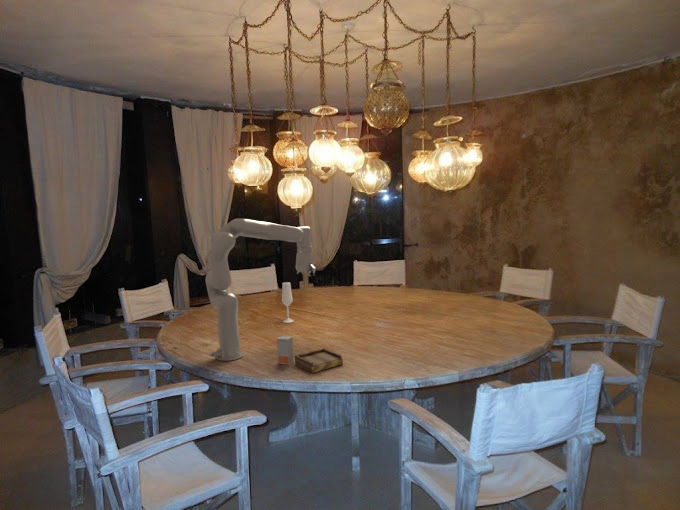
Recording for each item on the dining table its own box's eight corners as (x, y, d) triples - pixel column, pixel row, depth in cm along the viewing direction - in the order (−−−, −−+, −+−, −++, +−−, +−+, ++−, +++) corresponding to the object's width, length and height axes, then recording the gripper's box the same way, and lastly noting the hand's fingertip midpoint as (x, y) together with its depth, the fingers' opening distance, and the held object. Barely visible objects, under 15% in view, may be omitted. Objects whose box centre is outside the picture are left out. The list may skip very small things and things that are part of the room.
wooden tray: (312, 373, 200) (312, 363, 199) (295, 364, 211) (294, 355, 211) (342, 364, 209) (342, 355, 208) (324, 356, 221) (324, 348, 220)
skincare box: (277, 363, 213) (276, 338, 212) (282, 360, 217) (280, 335, 216) (289, 365, 211) (288, 339, 210) (293, 362, 215) (292, 336, 214)
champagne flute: (287, 323, 285) (285, 284, 283) (280, 321, 290) (278, 283, 287) (296, 320, 290) (294, 282, 288) (288, 319, 295) (286, 281, 292)
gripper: (289, 250, 250) (290, 281, 251) (308, 251, 236) (309, 285, 238) (300, 248, 254) (302, 279, 256) (320, 250, 241) (321, 283, 243)
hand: (305, 282), depth 247 cm, fingers open, 9 cm apart
